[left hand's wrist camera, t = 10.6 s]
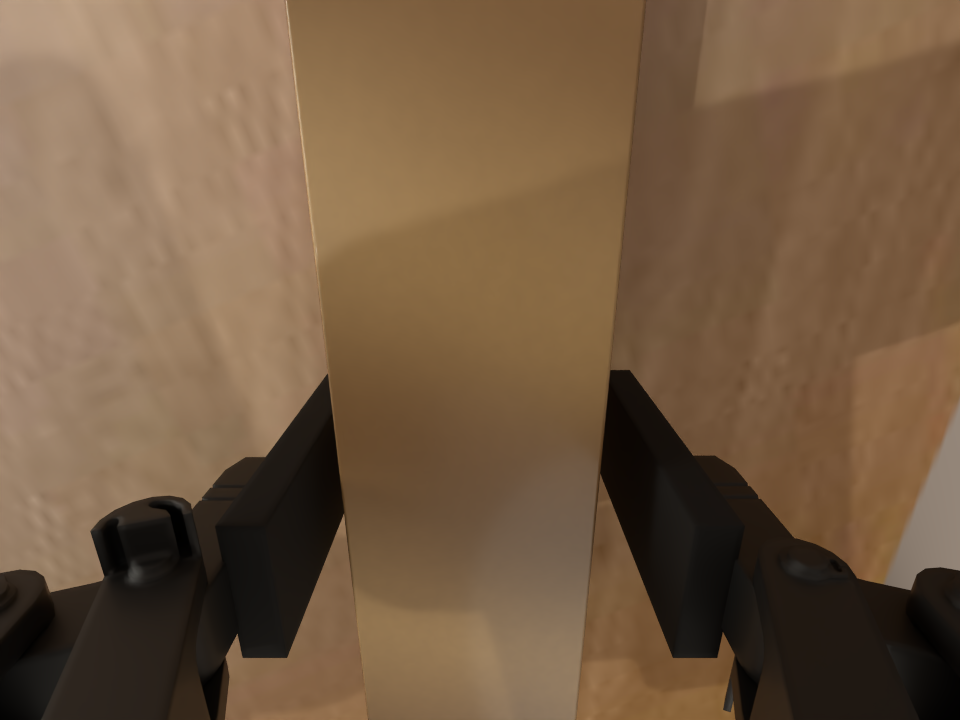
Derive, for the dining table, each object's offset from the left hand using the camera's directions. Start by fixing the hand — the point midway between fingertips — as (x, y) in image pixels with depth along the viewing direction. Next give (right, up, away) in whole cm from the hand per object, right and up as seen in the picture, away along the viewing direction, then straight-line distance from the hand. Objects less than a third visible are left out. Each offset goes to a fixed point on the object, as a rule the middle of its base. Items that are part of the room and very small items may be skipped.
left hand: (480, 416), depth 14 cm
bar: (0, +31, -9) cm, 33 cm away
